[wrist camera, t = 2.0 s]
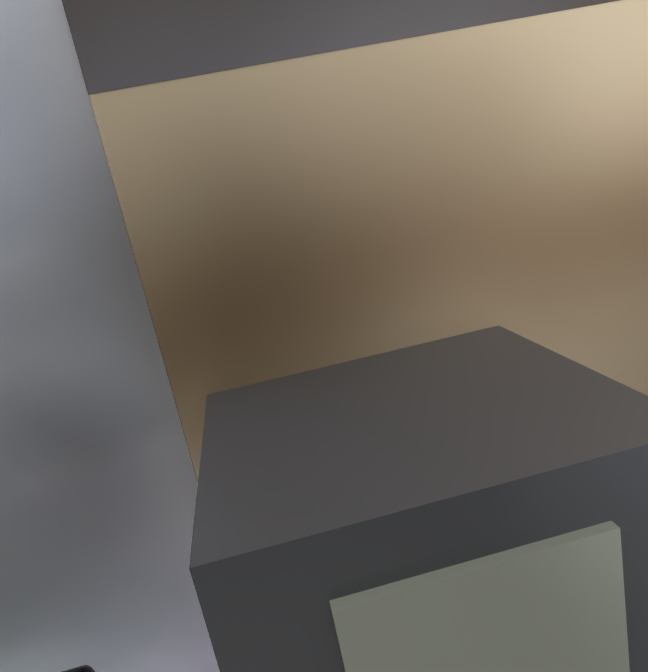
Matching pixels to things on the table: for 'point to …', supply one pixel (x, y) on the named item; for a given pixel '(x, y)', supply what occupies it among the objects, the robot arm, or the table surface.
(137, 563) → the table surface
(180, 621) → the table surface
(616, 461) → the box
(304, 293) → the board
